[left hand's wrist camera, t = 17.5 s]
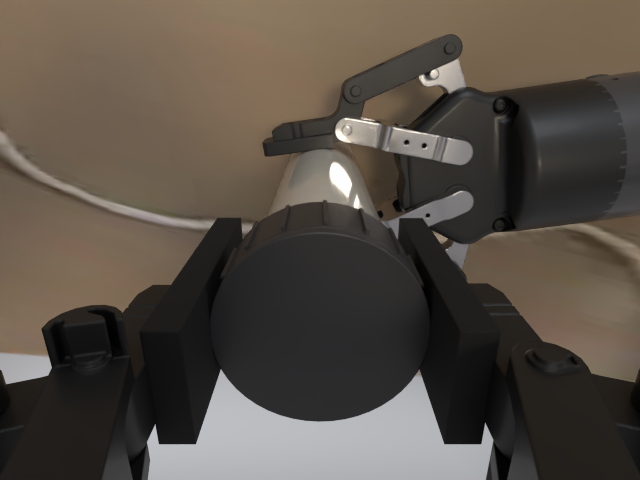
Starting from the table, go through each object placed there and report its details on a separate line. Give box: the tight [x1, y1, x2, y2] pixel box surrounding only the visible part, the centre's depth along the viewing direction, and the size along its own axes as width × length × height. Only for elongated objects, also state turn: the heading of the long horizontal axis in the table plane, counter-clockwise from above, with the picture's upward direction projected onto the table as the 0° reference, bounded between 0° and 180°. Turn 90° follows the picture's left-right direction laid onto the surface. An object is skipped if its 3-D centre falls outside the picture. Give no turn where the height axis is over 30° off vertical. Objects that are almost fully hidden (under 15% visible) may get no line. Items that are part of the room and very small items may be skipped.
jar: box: [267, 142, 380, 221], centre depth 21 cm, size 4×4×19 cm
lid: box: [210, 200, 431, 421], centre depth 11 cm, size 5×5×2 cm
